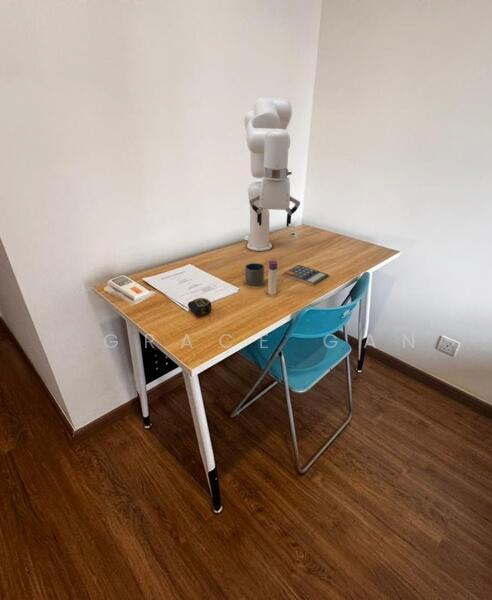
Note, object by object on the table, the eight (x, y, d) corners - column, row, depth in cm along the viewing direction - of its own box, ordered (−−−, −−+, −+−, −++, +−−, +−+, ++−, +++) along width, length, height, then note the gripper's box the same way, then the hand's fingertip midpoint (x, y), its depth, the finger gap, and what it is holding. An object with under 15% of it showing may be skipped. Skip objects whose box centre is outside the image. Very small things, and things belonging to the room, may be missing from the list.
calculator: (298, 264, 143) (328, 273, 135) (298, 266, 143) (328, 275, 135) (283, 272, 135) (313, 283, 127) (283, 274, 135) (313, 285, 127)
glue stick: (266, 294, 120) (267, 262, 113) (270, 291, 122) (271, 259, 115) (273, 297, 118) (274, 264, 112) (277, 293, 120) (278, 261, 114)
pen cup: (241, 285, 126) (241, 267, 122) (252, 278, 131) (252, 261, 128) (257, 290, 123) (257, 272, 119) (267, 283, 128) (267, 265, 124)
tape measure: (187, 310, 109) (186, 300, 107) (206, 304, 112) (205, 295, 110) (195, 319, 104) (194, 309, 102) (215, 313, 107) (214, 303, 105)
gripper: (301, 172, 107) (298, 223, 116) (250, 170, 108) (250, 221, 116) (302, 176, 101) (298, 229, 109) (247, 174, 101) (248, 227, 110)
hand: (273, 225), depth 113 cm, fingers open, 9 cm apart
